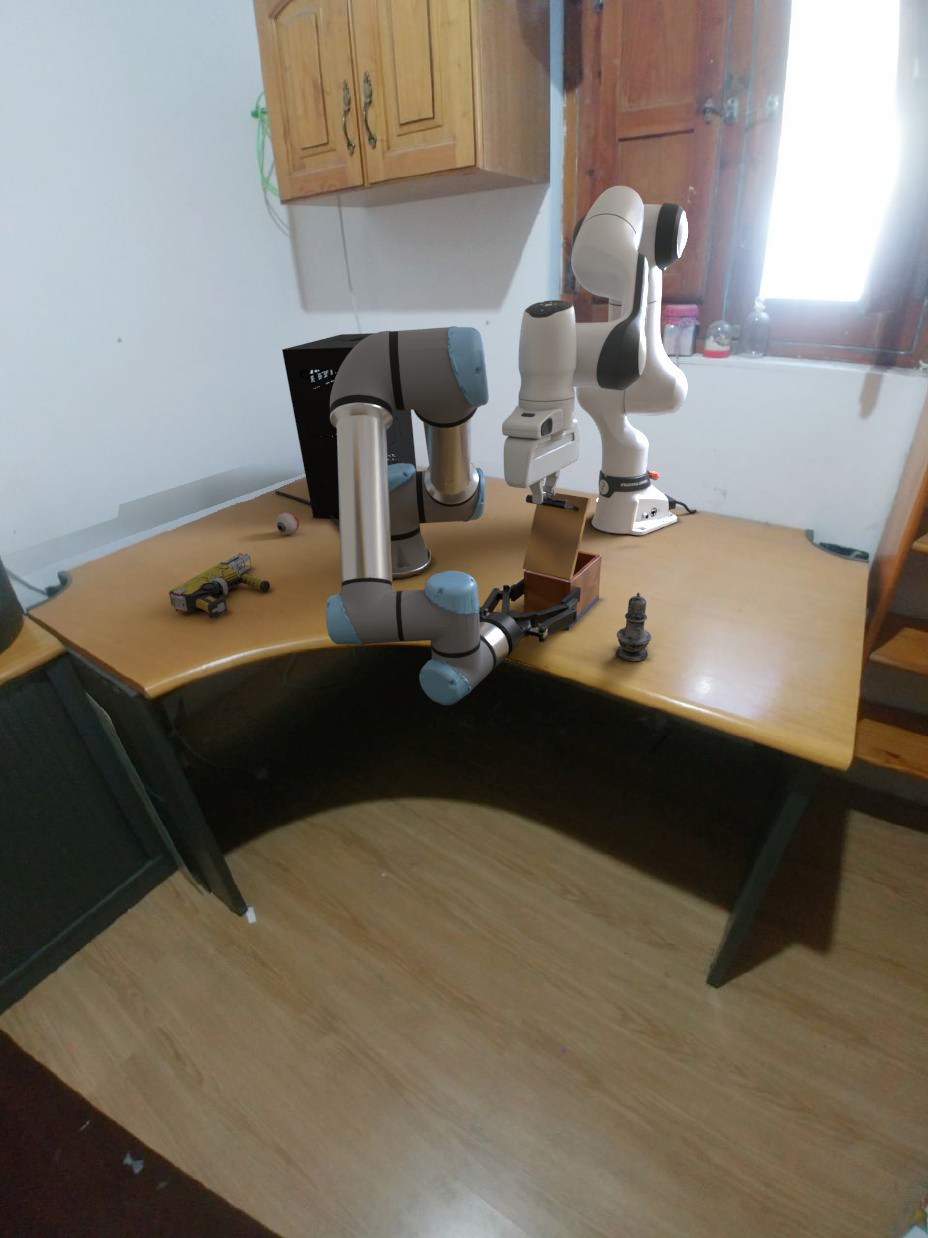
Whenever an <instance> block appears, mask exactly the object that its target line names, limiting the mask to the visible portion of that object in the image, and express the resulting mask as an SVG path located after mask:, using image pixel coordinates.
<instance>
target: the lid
mask: <svg viewBox="0 0 928 1238" xmlns="http://www.w3.org/2000/svg"><path fill="white" fill-rule="evenodd" d="M591 501H592V500H591V498H589V497H584V496H579V495H578V496H577V495H571V494H565V493H560V492H555V496H553V497H551V498H546V500H545V501H544V502H543V503H541V504H536V503H533V501H532V494H527V495H526V496H525V502H526V503H527V504H532V505H535V510H534V514H533V520H532V522H531V523H532V524H531V527H530V533H529V537H528V542H527V546H526V550H525V556H524V560H523V565H522V569H523V570H531V571H535V572H540V573H544V574H548V575H552V576H557V577H561V578H565V579H569V580H572V577H573V573H574V569H575V564H576V560H577V556H578V552H579V551H580V546H581V544H582V543H581V542H582V537H583V534H584V530H585V524H586V520H587V517H588V512H589V507H590V503H591Z"/></svg>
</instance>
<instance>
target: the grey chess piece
mask: <svg viewBox="0 0 928 1238" xmlns="http://www.w3.org/2000/svg"><path fill="white" fill-rule="evenodd" d="M627 604H628V605H627V612H626V613H625V614H624V618H625V619H626V621H625V626H624V627H622V628H620V629H618V631H617V632H616V638H617V641H618V643H619V646H618V647H617V649H616V654H617V656H618V657H620V658H621V659H623V660H626V661H629V662H638V661H643V660H645V659H646V658H648V655H649V653H648V650H647V649H646V648H647V647H648V645H649V643H650V642H651V641H652V634H651V633H650V632H649V631H648V630H647V629H645V622H646V621H647V619H648V616H647V614H646V609H647V601H646V599H645V598H644V597H642V596H641V593H640V592H637V593H636V595H635V596H631V597H630V598H629V600H628V603H627Z"/></svg>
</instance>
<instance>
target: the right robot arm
mask: <svg viewBox="0 0 928 1238" xmlns="http://www.w3.org/2000/svg"><path fill="white" fill-rule="evenodd" d="M686 215H687V214H686V211H685V210H684V209H683V207H682V206H681V205H680V204H677V203H671V202H663V203H662V204H656V203H655V204H654V203H644V202H643V200H642V198H641V196H640V194H639V193H638V192H637V191H636V190H634V189H633V188H631V187H629V186H626V185H615V186H611V187H609V188H607V189H606V190H604V191H603V192H602V193H601V194H600V195H599V196H598V197H597V199H596V200H595V201H594V202H593V204H592V206H591V207H590V209H589V210H588V211H587V213H585V214H584V215H582V216H581V217H580V218H579V219H578V221H577V222H576V224H575V225H574V228H573V233H572V238H571V259H570V263H571V270H572V272H573V275H574V277H575V280H576V281H577V282H578V284H579V285H580V286H581V287H582V288H583V289H584V290H586V291H587V292H588V293H590V294H591V295H594V296H598V297H602V298H607V299H608V316H607V317H608V318H607V319H608V320H607V321H606V322H605V321H603V322H601V321H599V322H577V321H576V313H575V312H576V311H575V306H574V305H573V303H571V302H569V301H565V300H561V299H560V300H559V299H555V300H551V299H550V300H544V301H539V302H536V303H533V304H531V305H529V306H528V307H527V308H525V309H524V311H523V314H522V318H521V323H520V330H519V341H518V342H519V343H518V372H519V375H520V386H519V387H520V388H519V391H518V402H517V404H518V405H516V406H515V407H514V409H513V411H512V412H511V414H510V415H508V417H507V418H506V419H504V421H502V425H501V433H502V435H503V436H505V437H506V438H505V440H504V444H503V475H504V476H503V477H504V481H505V483H506V484H507V486H508V487H512V488H517V489H527V488H529V489H530V491H531V495H532V501H533V503H536V504H535V505H537V504H541V503H543V502H544V501H545V500H546V498H551V497H553V496H555V493H556V489H557V484H558V481H559V478H560V475H561V470H562V469H564V468H566V467H568V466H570V465H571V464H574V463H575V462H577V461H578V460H579V457H580V453H581V430H580V422H579V421H578V419H577V417H576V412H575V401H576V400H577V403H578V404H579V406H580V408H581V409H582V410H583V411H584V412H586V413H587V414H588V415H589V416H590V418H591V419H592V420H593V422H594V423H595V426H596V427H597V429H598V432H599V436H600V441H601V468H600V470H599V474H598V492H599V493H598V497H597V498H596V507H595V511H594V514H593V517H592V520H591V525H592V526H593V527H594V528H595V529H597V530H599V531H601V532H605V533H611V534H623V535H625V534H626V535H632V536H633V535H634V536H645V535H646V534H650V533H652V532H654V531H657V530H660V529H662V528H665V527H668V526H670V525H672V524H675V523H677V522H678V516H677V515H676V514H675V513H674V512H672V511H670V510H676V506H677V505H680V506H682V507H683V508H684V509H685V510H686V512H687V513H690V514H693V513H697V509H690V508H689V506H688V505H687V504H685V502H683V501H679V500H677V499H675V498H673V497H672V496H669V495H667V494H665V493H663V492H661V491H660V490H659V489H658V488H656V487H655V486H654V485H652V483H651V480H653V481H658V479H659V478H660V473H659V472H657V471H654V470H651V471H649V470H648V469H647V466H648V458H649V457H648V456H649V447H650V443H649V440H648V438H647V437H646V435H645V434H644V433H643V432H641V431H640V430H639V429H636V428H635V427H633V426H632V424H630V422H629V420H628V416H642V417H660V416H667V415H672V414H675V413H677V412H678V411H679V410H680V409H681V407H682V406H683V405H684V403H685V401H686V399H687V396H688V389H689V386H688V380H687V378H686V375H685V374H684V372H683V371H682V369H680V368H678V367H677V366H676V365H675V364H674V363H673V362H672V361H671V359H670V358H669V357H668V355H667V353H666V351H665V349H664V346H663V342H662V337H661V308H662V293H663V292H662V291H663V272H665V271H666V270H667V268H668V267H671V266H673V265H674V264H675V263H676V262H677V261H678V260H679V259H680V258H681V257H682V253H683V251H684V249H685V246H686V244H687V240H688V234H689V226H688V221H687V216H686ZM575 397H576V400H575ZM543 485H544V486H543Z"/></svg>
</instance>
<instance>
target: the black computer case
mask: <svg viewBox="0 0 928 1238" xmlns="http://www.w3.org/2000/svg"><path fill="white" fill-rule="evenodd" d="M375 333H376V332H371V333H368V332H367V333H343V334H342V333H341V334H338V335H337V334H336V335H333V336H330V337H325V338H321V339H318V340H314V341H310V342H306V343H302V344H298V345H294V346H291V347H286V348H283V349H281V352H282V357H283V363H284V368H285V371H286V373H285V374H286V379H287V383H288V389H289V394H290V399H291V405H292V410H293V415H294V421H295V428H296V432H297V437H298V442H299V448H300V453H301V459H302V464H303V465H302V466H303V470H304V475H305V480H306V485H307V491H308V497H309V501H310V502H311V505H310V507H311V512H312V517H313V518H317V519H318V518H319V519H322V518H323V519H332V518H331V517H330V515H333V516H334V517H335V518H336V519H339V485H338V446H337V428H335V427H334V426H333V425H332V423H331V421H330V397H331V392H332V387H333V384H334V381H335V378H336V375H337V373H338V371H339V369H340V366H341V365H342V363H343V361H344V360H345V358H346V357H347V355H348V354H349V353H350V352H351V350H352V349H353V348H354V347H355V346H356V345H357V344H358V343H359V342H361V341H362V340H363V339H365V338H366V337H368V336H370V335H372V334H375ZM392 419H393V421H392V425H391V426H390V427H389V428H388V429H387V430H386V434H387V459H388V465H392V464H399V463H405V464H407V463H408V464H412V465H413V466H414V468H415V469H416V471H418V470H417V460H416V459H417V458H416V451H415V450H416V449H415V440H414V426H413V418H412V410H401V411H398V410H395V411H392Z"/></svg>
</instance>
